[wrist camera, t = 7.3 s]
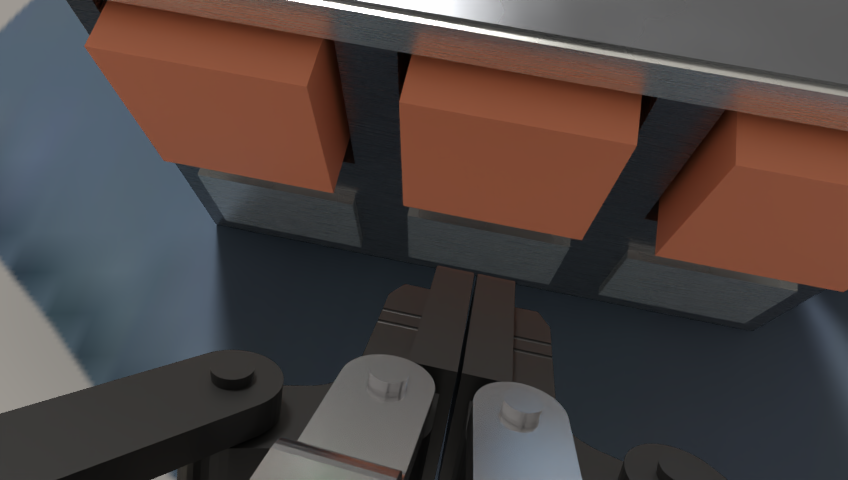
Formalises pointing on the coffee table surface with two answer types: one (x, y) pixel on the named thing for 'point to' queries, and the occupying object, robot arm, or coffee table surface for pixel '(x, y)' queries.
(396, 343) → the robot arm
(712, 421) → the coffee table surface
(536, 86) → the switch
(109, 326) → the coffee table surface
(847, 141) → the switch
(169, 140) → the switch
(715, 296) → the dark grey block
